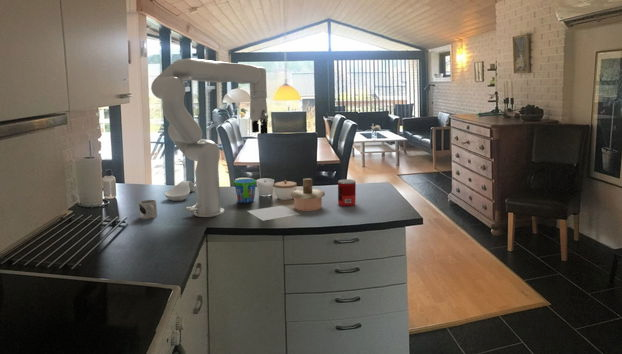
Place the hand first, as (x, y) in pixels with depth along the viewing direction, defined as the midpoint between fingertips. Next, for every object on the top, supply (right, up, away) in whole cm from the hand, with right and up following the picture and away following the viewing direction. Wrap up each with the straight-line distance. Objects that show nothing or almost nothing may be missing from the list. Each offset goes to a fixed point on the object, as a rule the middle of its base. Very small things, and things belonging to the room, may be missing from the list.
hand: (259, 132), depth 200 cm
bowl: (+22, -34, -8) cm, 41 cm away
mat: (+8, -36, -16) cm, 40 cm away
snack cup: (-7, -32, +5) cm, 33 cm away
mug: (-43, -38, -19) cm, 61 cm away
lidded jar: (+11, -31, +9) cm, 34 cm away
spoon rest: (-41, -31, +18) cm, 54 cm away
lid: (+22, -28, -9) cm, 37 cm away
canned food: (+40, -33, -2) cm, 52 cm away
